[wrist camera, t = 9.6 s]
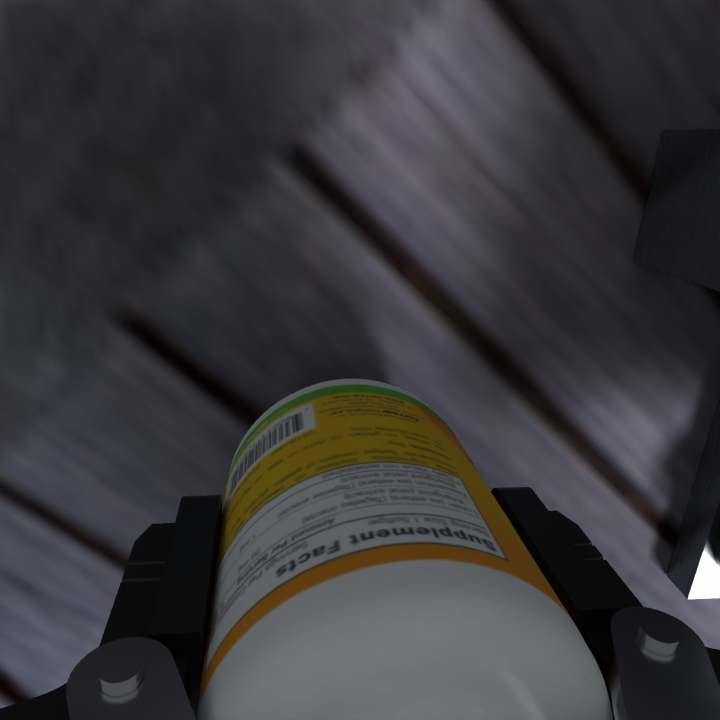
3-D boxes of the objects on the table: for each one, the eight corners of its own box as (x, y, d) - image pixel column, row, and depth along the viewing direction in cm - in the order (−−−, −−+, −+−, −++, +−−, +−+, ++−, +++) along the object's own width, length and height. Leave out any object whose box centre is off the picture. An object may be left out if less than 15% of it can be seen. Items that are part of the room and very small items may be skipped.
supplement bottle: (442, 574, 15) (689, 1196, 6) (225, 578, 15) (149, 1301, 5) (475, 376, 14) (878, 839, 5) (230, 366, 13) (131, 912, 4)
